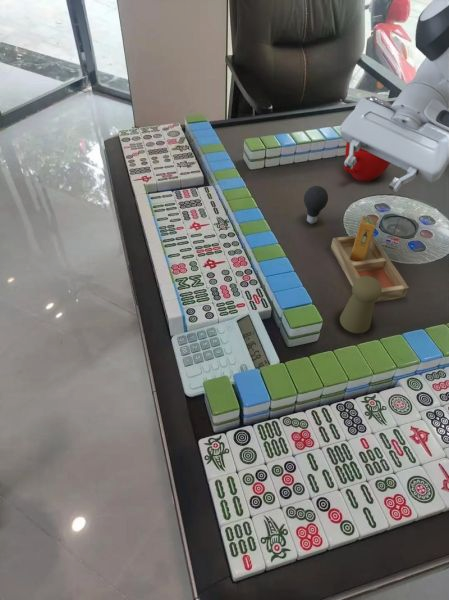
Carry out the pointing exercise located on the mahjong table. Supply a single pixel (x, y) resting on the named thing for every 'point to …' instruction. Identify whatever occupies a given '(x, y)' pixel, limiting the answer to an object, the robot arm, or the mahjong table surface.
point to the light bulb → (315, 202)
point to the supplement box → (363, 238)
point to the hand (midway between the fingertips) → (369, 177)
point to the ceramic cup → (366, 165)
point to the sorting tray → (370, 267)
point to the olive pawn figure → (361, 305)
